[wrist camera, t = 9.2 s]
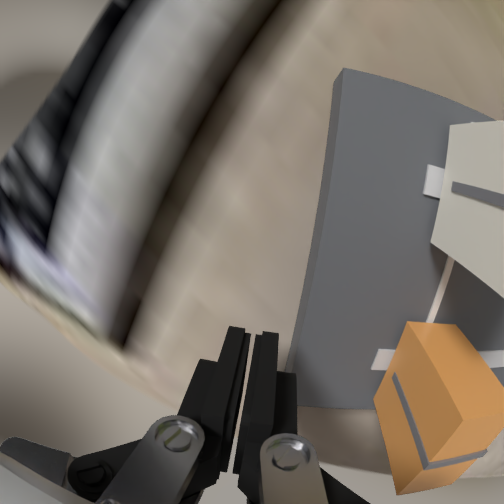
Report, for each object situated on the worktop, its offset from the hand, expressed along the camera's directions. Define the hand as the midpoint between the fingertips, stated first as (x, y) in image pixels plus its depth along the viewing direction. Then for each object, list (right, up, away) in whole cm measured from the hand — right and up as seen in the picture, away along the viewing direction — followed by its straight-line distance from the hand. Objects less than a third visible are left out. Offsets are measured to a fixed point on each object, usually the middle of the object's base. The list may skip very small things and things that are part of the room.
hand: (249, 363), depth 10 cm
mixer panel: (+10, +3, +1) cm, 11 cm away
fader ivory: (+7, +6, -2) cm, 10 cm away
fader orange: (+7, -1, 0) cm, 7 cm away
